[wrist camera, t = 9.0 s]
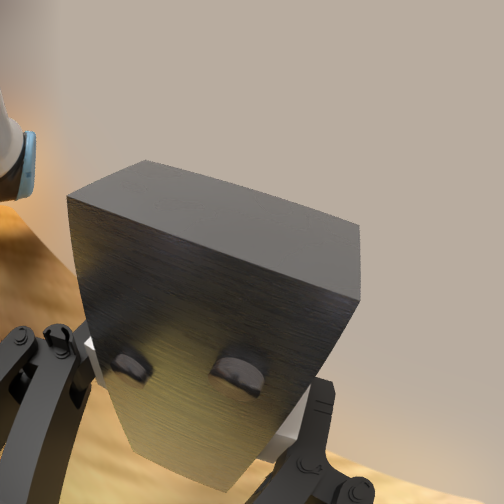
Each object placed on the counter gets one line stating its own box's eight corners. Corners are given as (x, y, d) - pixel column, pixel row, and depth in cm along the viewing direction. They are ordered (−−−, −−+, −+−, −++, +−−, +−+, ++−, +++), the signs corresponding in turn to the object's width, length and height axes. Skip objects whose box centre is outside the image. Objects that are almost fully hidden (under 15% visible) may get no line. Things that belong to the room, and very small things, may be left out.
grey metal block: (224, 496, 13) (360, 312, 4) (131, 455, 14) (56, 200, 5) (243, 450, 16) (358, 220, 7) (157, 413, 17) (150, 157, 8)
